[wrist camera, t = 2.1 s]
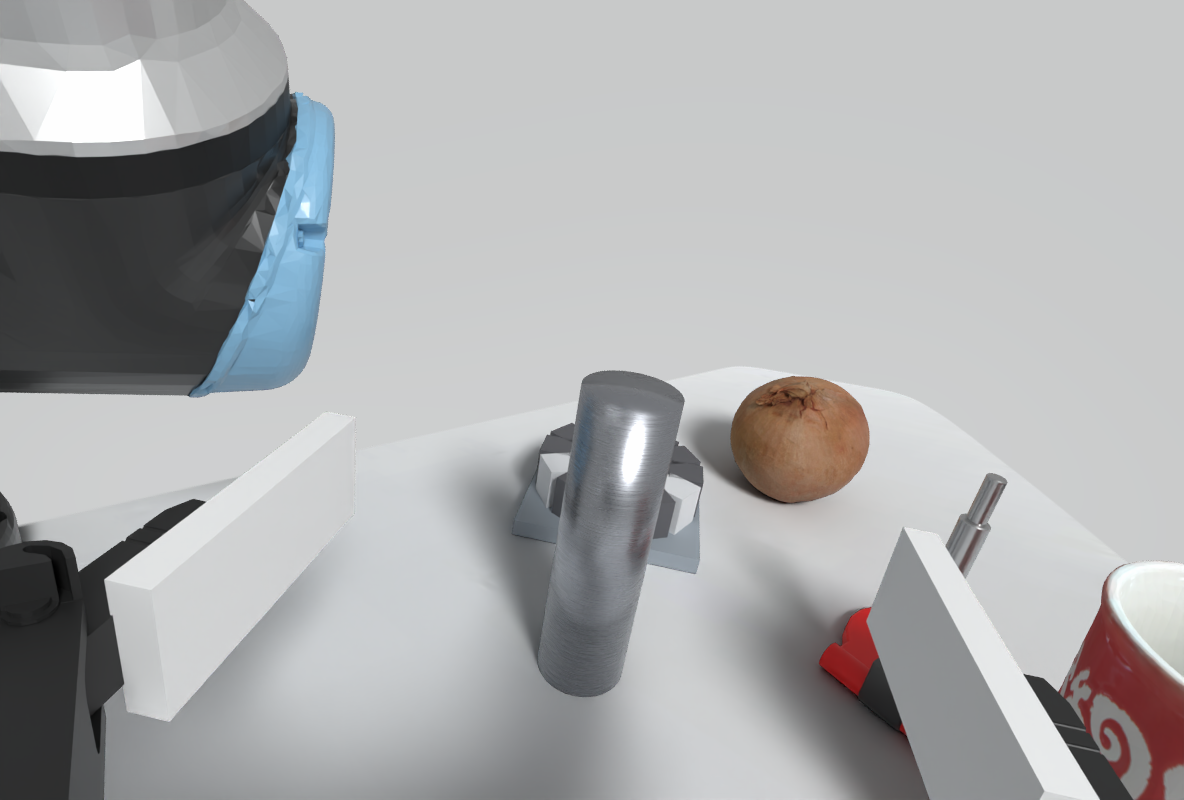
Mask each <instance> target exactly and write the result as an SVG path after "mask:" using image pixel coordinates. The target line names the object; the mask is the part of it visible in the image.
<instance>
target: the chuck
mask: <svg viewBox="0 0 1184 800" xmlns="http://www.w3.org/2000/svg"><path fill="white" fill-rule="evenodd" d="M574 428H575V424H573V423H571V424H568V425H566V426H563V427H561V428H558V429H556V430H553V431H551V434H550V435H547V436H546V438H545V440H544V442H543V444H542V447H541V449H540V453H539V461H538V468H537V470H536V472H535V474H534V477H533V479H532V481H531V483H530V485H529V488H528V490H527V492H526V494H525V496H524V499H523V501H522V503H521V505H520V507H519V510H518V512H517V514H516V516H515V518H514V523H513V530H512V534H515V535H519V536H524V537H528V538H533V539H538V540H542V541H547V542H551V543H556V540H557V534H558V527H559V521H560V515H561V509H562V503H563V496H564V490H565V484H566V478H567V471H568V465H569V459H570V453H571V446H572V440H573V434H574ZM678 444H679V442H677V441H675V445H674V449H673V453H672V458H671V462H670V466H669V471H668V475H667V479H666V484H665V488H664V492H663V496H662V501H661V505H660V509H659V514H658V518H657V522H656V527H655V531H654V535H653V540H652V544H651V548H650V553H649V557H648V561H647V563H648V564H653V565H657V566H662V567H667V568H671V569H676V570H681V571H685V572H690V573H694V574H696V572H697V568H698V564H699V561H700V542H699V498H700V494H701V490H702V487H703V467H702V466H700V463H701V462H700V461H699V460H698V459H697V458H696V457H695V456H694V455H693V454H692V453H691V452H690V451H689V450H688V449H687V448H686V447H685V446H678Z"/></svg>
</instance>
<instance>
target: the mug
mask: <svg viewBox="0 0 1184 800" xmlns="http://www.w3.org/2000/svg"><path fill="white" fill-rule="evenodd" d="M1058 693H1059V694H1061V695H1062V696H1063V697H1064V698H1065V699H1066V700H1067V701H1068V702H1069V703H1070V704H1071V706H1072V707H1073V709H1074V711H1075V712H1076V714H1077V715H1078V717H1079V718H1080V720H1081V721H1082V723H1083V724H1084V726H1085V727H1086V733H1090V735H1091V736H1092V738H1093V739H1094V741H1095V742H1096V744H1097V745H1098V747H1099V748H1100V754H1103V755H1104V756H1105V757H1106V759H1107V760H1108V762H1109V763H1110V765H1111V766H1112V768H1113V770H1114V771H1115V773H1116V774H1117V776H1118V777H1119V779H1120V780H1121V782H1122V783H1123V785H1124V786H1125V788H1126V789H1127V791H1128V792H1129V794H1130V795H1131V797H1132V798H1133V800H1184V564H1183V563H1176V562H1168V561H1141V562H1134V563H1129V564H1125V565H1122V566H1120V567H1118V568H1116V569H1115V570H1114V571H1113V572H1111V573H1110V574H1109V576H1108V577H1107V579H1106V580H1105V582H1104V585H1103V588H1102V597H1101V606H1100V609H1099V611H1098V613H1097V615H1096V617H1095V619H1094V621H1093V624H1092V626H1091V627H1090V629H1089V631H1088V633H1087V635H1086V637H1085V639H1084V641H1083V643H1082V645H1081V647H1080V650H1079V652H1078V654H1077V655H1076V657H1075V659H1074V661H1073V664H1072V666H1071V668H1070V670H1069V672H1068V674H1067V676H1066V678H1065V680H1064V682H1063V685H1062V686H1061V688H1060V690H1059V692H1058Z"/></svg>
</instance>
